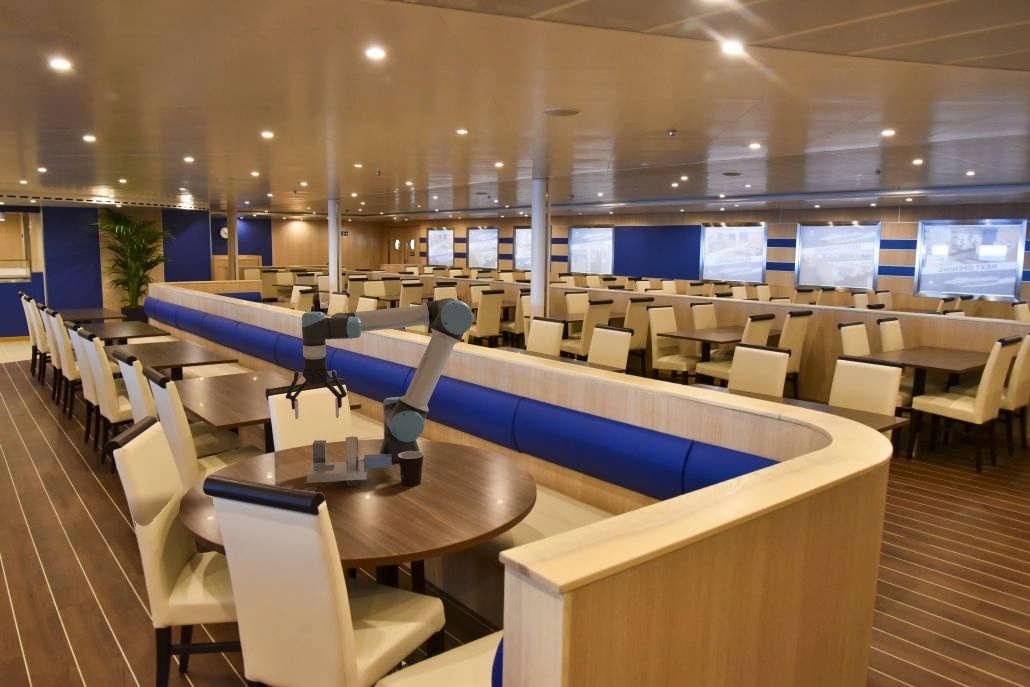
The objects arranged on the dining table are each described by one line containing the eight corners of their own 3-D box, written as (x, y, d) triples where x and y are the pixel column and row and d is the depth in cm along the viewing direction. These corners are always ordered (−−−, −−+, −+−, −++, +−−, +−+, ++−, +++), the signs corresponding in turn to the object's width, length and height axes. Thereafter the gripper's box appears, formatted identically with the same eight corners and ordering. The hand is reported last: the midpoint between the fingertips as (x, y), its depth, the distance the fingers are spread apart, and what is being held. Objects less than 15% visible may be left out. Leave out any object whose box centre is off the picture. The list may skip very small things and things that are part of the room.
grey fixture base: (392, 477, 244) (391, 432, 241) (391, 488, 232) (390, 441, 230) (312, 480, 240) (311, 434, 238) (307, 492, 228) (305, 444, 226)
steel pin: (327, 473, 247) (326, 440, 246) (325, 476, 243) (324, 443, 242) (315, 473, 247) (314, 440, 245) (313, 477, 243) (312, 443, 241)
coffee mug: (419, 488, 232) (418, 459, 231) (394, 486, 234) (394, 457, 233) (430, 477, 244) (430, 449, 242) (406, 475, 245) (406, 447, 244)
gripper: (353, 354, 245) (355, 413, 248) (279, 356, 241) (282, 416, 244) (351, 358, 237) (353, 419, 240) (274, 359, 234) (278, 421, 237)
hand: (317, 417), depth 242 cm, fingers open, 13 cm apart
